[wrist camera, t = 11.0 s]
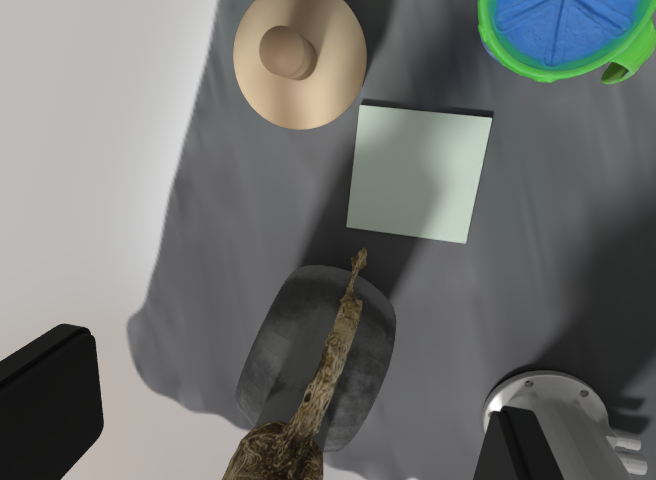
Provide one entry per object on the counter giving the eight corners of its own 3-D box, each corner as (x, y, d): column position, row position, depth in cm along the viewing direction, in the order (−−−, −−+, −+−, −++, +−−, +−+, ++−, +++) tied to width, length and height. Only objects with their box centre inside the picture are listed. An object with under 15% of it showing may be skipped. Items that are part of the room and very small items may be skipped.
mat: (491, 117, 37) (492, 117, 37) (464, 241, 41) (465, 243, 40) (360, 105, 39) (360, 104, 38) (347, 225, 42) (346, 227, 42)
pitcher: (267, 341, 48) (82, 662, 20) (325, 197, 42) (174, 375, 14) (350, 379, 48) (281, 759, 20) (423, 239, 42) (471, 512, 13)
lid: (375, -10, 32) (369, -37, 26) (358, 135, 35) (350, 140, 29) (240, -18, 33) (206, -45, 27) (237, 122, 37) (206, 124, 31)
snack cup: (412, 10, 36) (416, -26, 26) (506, -107, 32) (552, -198, 23) (538, 132, 37) (586, 139, 27) (642, 32, 33) (740, 0, 24)
